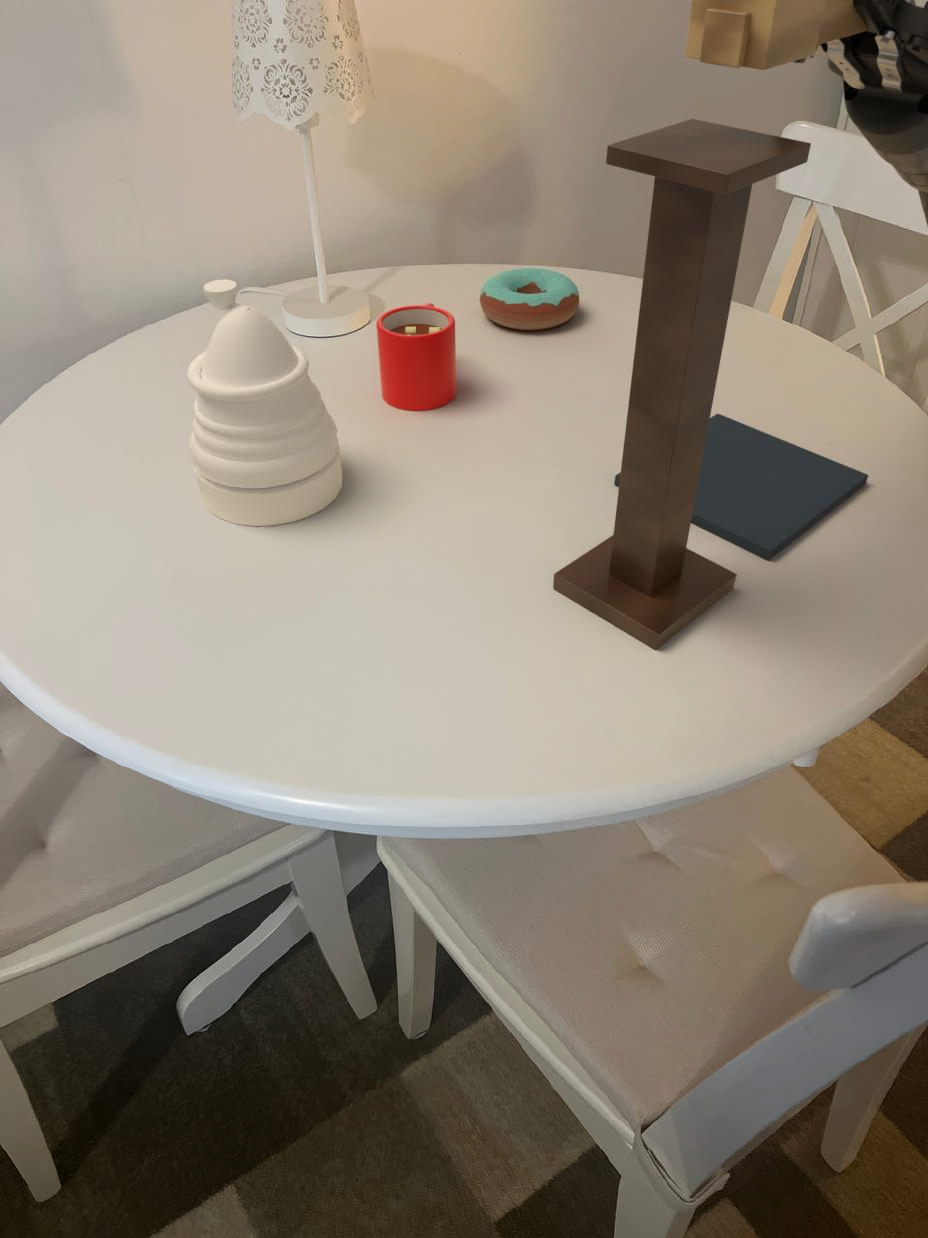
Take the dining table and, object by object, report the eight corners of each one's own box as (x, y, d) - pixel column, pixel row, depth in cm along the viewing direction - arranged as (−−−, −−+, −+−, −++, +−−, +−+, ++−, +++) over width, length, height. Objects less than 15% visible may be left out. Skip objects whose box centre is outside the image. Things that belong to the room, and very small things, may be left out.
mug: (466, 360, 103) (465, 290, 98) (450, 412, 94) (448, 338, 89) (397, 356, 104) (392, 287, 99) (374, 408, 95) (368, 335, 90)
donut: (598, 313, 112) (601, 280, 109) (533, 345, 106) (535, 311, 103) (524, 287, 118) (525, 256, 116) (459, 315, 112) (458, 283, 109)
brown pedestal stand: (733, 588, 72) (837, 142, 51) (655, 650, 67) (735, 182, 46) (632, 535, 78) (688, 112, 57) (552, 588, 73) (581, 144, 51)
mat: (865, 484, 83) (868, 474, 82) (768, 561, 75) (771, 551, 74) (715, 421, 92) (717, 412, 91) (613, 484, 84) (615, 475, 83)
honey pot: (170, 496, 83) (118, 300, 71) (269, 435, 91) (237, 250, 79) (276, 543, 78) (238, 339, 66) (371, 473, 85) (353, 280, 74)
